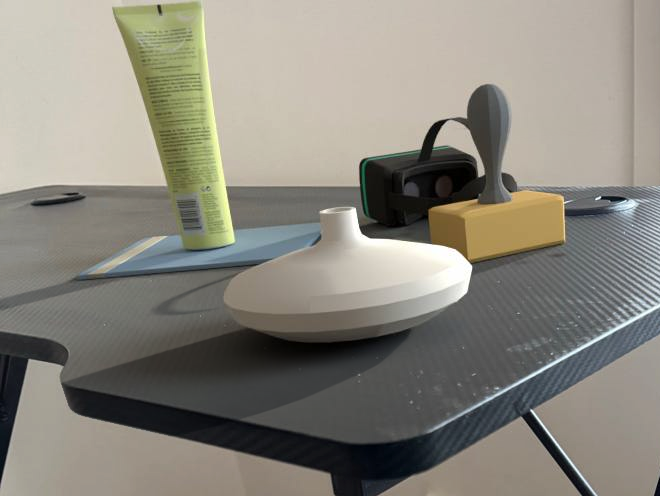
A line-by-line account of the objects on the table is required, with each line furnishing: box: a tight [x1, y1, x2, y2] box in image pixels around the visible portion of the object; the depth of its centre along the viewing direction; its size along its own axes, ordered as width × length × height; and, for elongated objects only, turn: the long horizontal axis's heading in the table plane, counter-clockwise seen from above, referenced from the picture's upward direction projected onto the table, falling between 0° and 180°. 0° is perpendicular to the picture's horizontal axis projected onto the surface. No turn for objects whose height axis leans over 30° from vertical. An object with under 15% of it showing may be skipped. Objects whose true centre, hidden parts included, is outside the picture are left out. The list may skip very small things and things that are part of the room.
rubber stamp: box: [428, 83, 566, 264], centre depth 74 cm, size 10×6×12 cm, turn 120°
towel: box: [76, 221, 322, 281], centre depth 90 cm, size 20×18×1 cm
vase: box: [222, 206, 473, 343], centre depth 58 cm, size 16×16×7 cm
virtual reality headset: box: [358, 116, 518, 227], centre depth 89 cm, size 11×17×10 cm, turn 31°
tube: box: [111, 0, 235, 250], centre depth 84 cm, size 6×5×20 cm
